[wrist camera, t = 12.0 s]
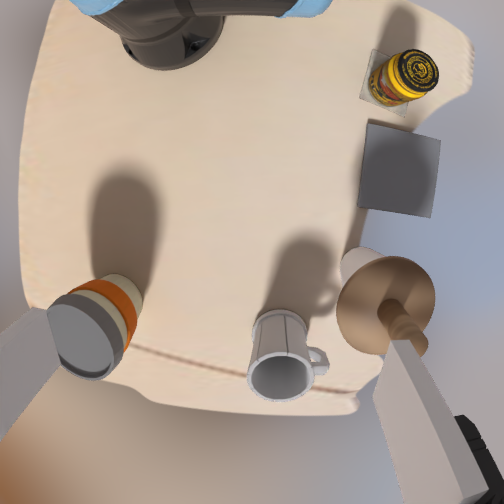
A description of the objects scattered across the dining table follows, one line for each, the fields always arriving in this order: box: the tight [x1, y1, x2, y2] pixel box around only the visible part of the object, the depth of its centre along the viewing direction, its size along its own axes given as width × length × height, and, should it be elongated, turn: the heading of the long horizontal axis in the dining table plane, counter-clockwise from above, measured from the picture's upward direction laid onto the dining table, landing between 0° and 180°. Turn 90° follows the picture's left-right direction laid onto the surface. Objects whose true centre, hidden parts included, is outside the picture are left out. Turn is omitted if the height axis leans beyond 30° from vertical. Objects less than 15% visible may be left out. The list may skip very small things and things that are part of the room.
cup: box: [247, 309, 330, 402], centre depth 45 cm, size 10×9×12 cm
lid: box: [336, 256, 435, 357], centre depth 30 cm, size 12×12×9 cm
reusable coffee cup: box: [46, 274, 143, 380], centre depth 44 cm, size 13×13×15 cm
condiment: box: [360, 49, 439, 118], centre depth 33 cm, size 7×8×12 cm
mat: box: [357, 123, 441, 218], centre depth 42 cm, size 12×12×1 cm
